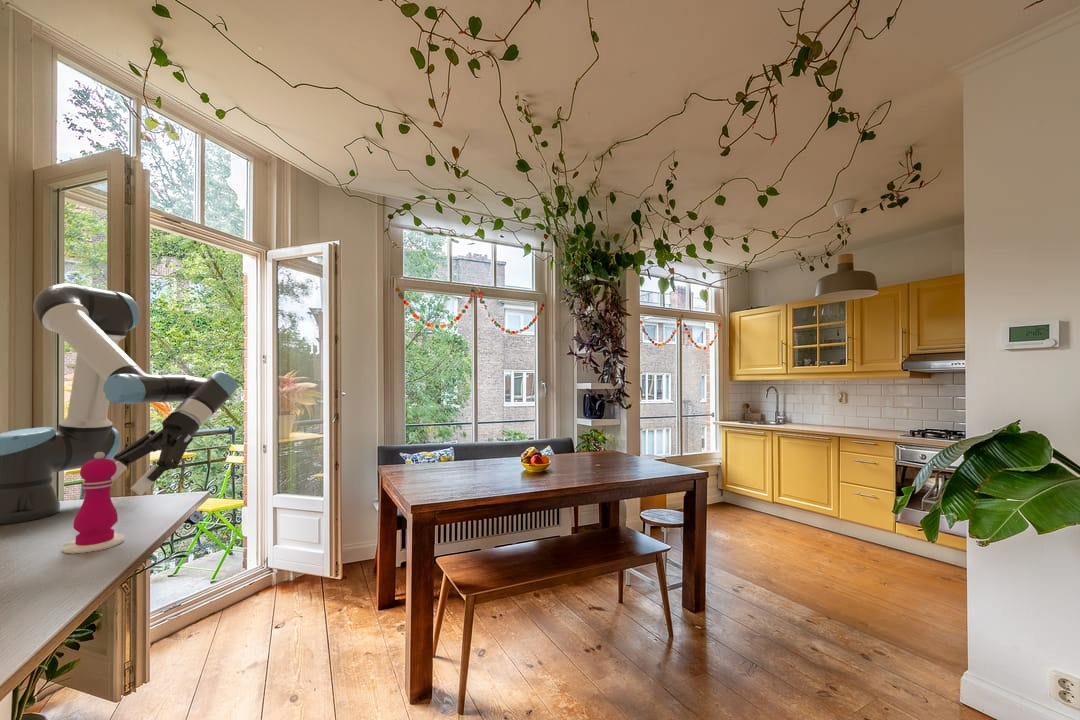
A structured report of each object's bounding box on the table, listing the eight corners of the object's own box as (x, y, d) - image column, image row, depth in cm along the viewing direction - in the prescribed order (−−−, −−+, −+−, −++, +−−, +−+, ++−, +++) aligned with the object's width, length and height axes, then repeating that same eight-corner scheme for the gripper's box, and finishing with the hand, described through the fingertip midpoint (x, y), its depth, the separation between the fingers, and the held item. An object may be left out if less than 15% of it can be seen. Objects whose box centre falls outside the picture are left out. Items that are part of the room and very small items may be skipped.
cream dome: (88, 538, 107) (88, 534, 107) (135, 536, 108) (135, 532, 108) (48, 554, 97) (48, 549, 97) (100, 552, 98) (100, 548, 98)
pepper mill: (125, 536, 106) (129, 449, 107) (92, 547, 99) (96, 454, 100) (97, 534, 107) (102, 449, 108) (62, 545, 100) (67, 453, 101)
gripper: (230, 430, 120) (165, 503, 105) (165, 426, 128) (97, 493, 113) (210, 411, 115) (139, 485, 100) (144, 408, 123) (70, 476, 108)
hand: (116, 489), depth 106 cm, fingers open, 13 cm apart
